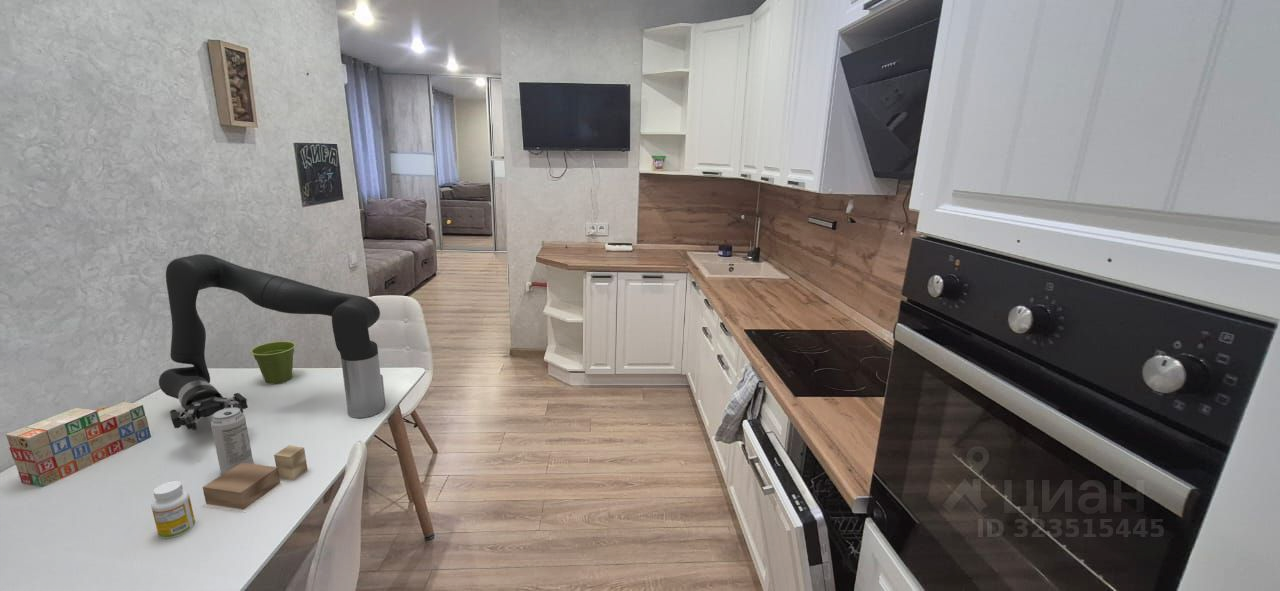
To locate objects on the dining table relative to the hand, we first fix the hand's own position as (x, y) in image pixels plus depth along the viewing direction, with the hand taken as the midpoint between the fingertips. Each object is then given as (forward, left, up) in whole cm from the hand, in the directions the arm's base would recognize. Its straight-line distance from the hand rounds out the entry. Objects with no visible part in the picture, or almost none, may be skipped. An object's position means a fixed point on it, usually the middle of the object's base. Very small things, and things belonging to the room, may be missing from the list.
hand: (217, 419), depth 122 cm
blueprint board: (+11, +20, -9) cm, 24 cm away
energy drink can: (+6, +10, -9) cm, 15 cm away
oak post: (+5, +23, -9) cm, 25 cm away
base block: (+13, +19, -9) cm, 24 cm away
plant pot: (-38, -21, -9) cm, 45 cm away
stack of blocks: (+8, -27, -9) cm, 30 cm away
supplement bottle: (+24, +16, -9) cm, 30 cm away
